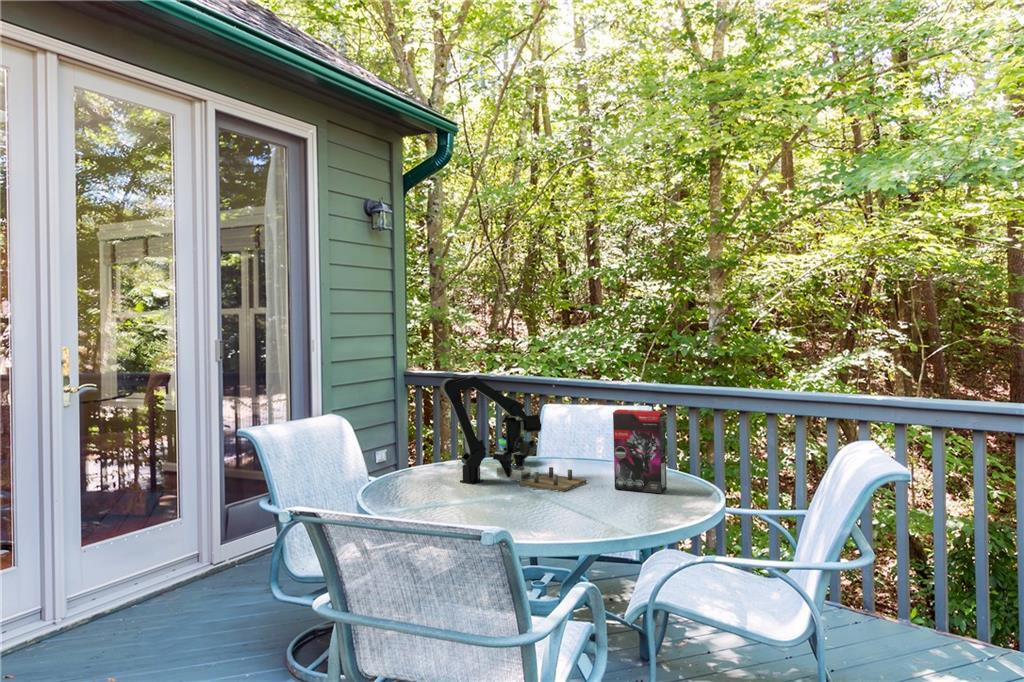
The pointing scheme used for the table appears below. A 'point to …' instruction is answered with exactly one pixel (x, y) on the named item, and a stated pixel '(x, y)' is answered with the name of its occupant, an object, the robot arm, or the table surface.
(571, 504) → the table surface
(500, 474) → the drive
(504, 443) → the snack cup
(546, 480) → the wooden peg board
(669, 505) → the table surface
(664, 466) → the graphics card box
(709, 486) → the table surface
